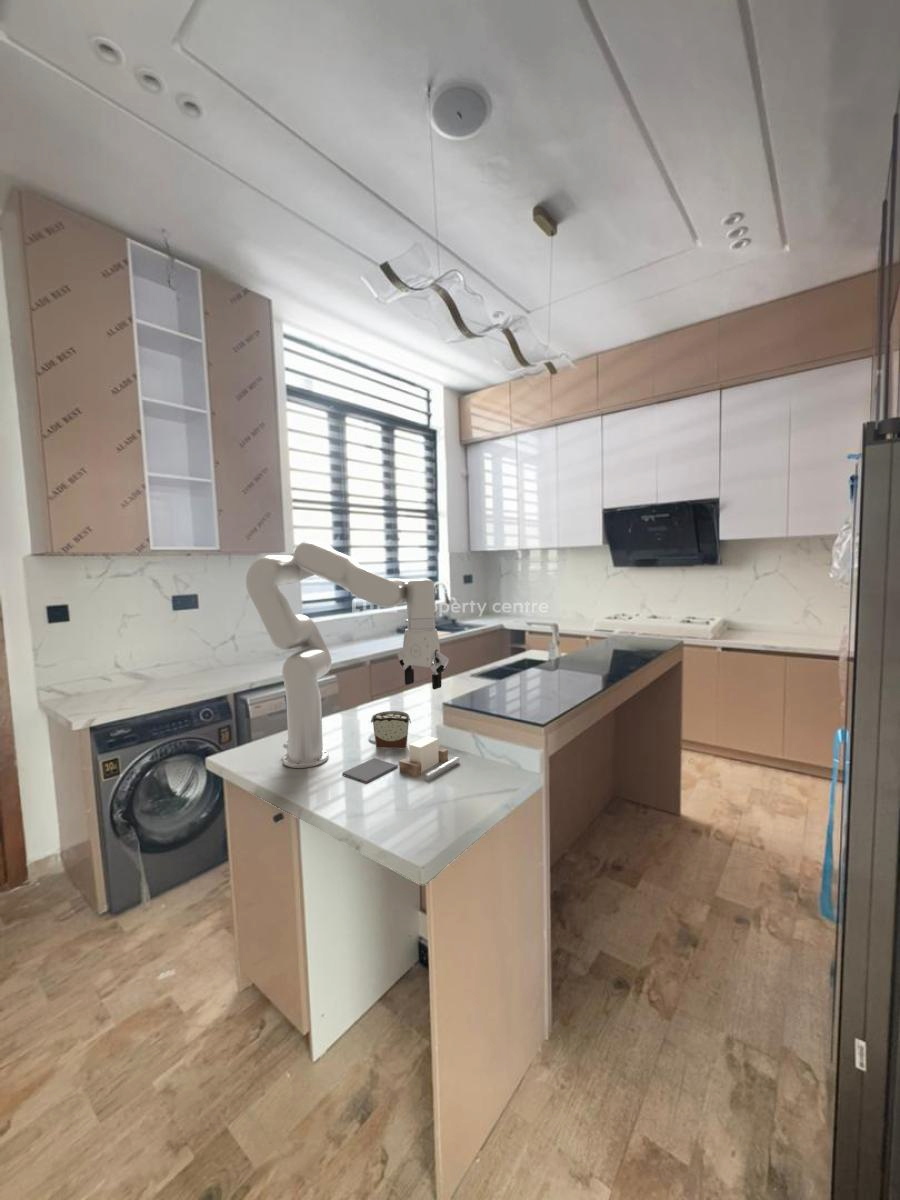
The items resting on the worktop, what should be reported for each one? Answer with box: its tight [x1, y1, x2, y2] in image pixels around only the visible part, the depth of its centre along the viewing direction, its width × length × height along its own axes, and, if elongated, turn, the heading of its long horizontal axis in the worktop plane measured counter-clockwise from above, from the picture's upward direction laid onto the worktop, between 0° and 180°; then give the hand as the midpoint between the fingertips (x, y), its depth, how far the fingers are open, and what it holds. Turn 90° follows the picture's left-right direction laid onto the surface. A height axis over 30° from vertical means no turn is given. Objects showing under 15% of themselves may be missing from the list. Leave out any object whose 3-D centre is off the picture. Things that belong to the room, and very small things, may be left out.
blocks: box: [398, 746, 460, 782], centre depth 135 cm, size 10×14×3 cm
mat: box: [342, 757, 399, 784], centre depth 133 cm, size 9×12×1 cm
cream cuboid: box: [408, 735, 440, 773], centre depth 136 cm, size 4×8×7 cm, turn 144°
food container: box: [370, 710, 412, 750], centre depth 152 cm, size 12×6×10 cm, turn 84°
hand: (422, 686), depth 135 cm, fingers open, 9 cm apart
